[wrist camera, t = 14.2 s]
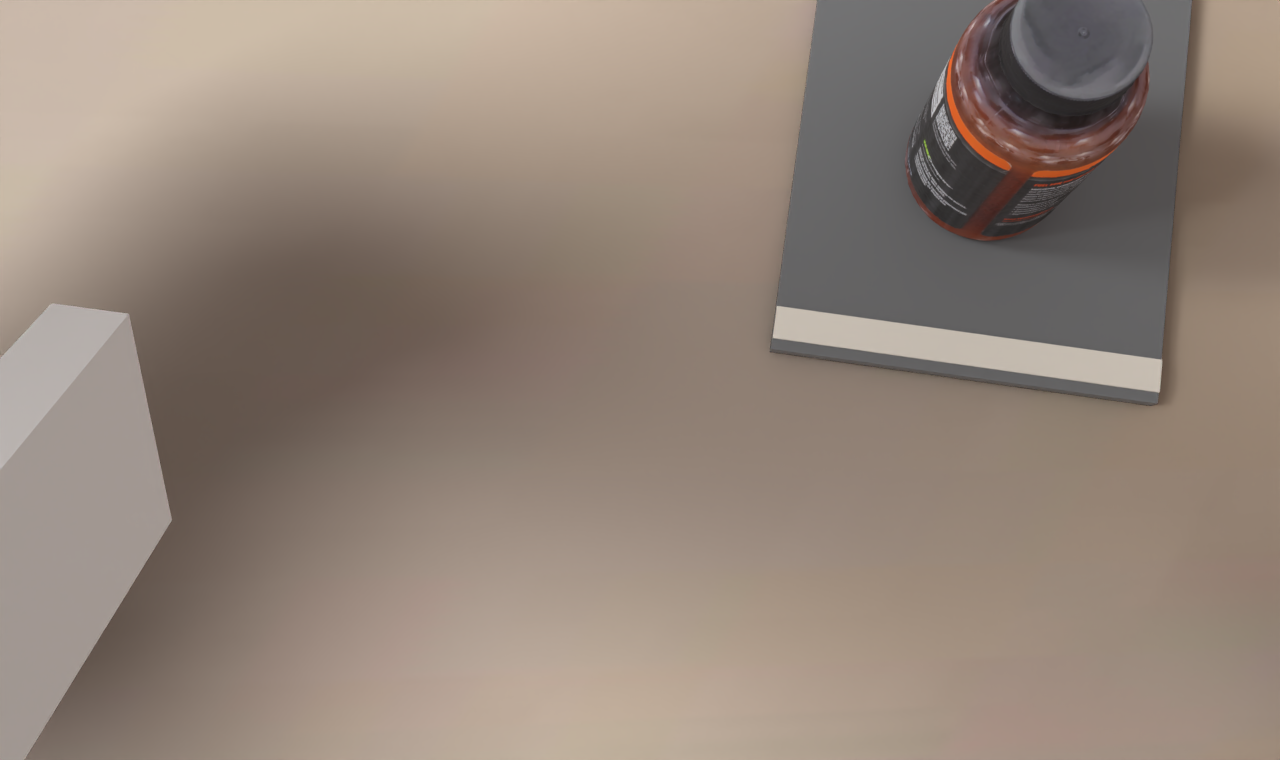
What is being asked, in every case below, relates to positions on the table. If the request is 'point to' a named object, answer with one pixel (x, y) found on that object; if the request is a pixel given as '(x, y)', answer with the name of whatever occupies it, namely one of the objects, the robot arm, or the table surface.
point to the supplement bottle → (1027, 111)
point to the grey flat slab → (962, 267)
